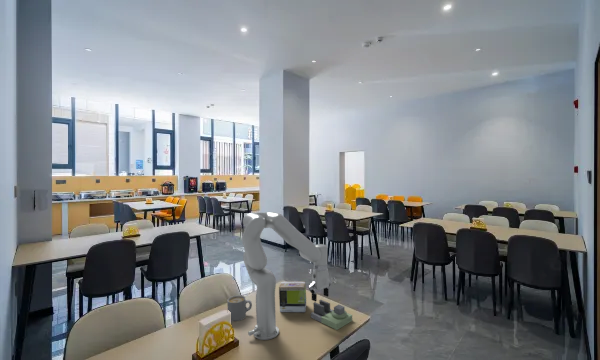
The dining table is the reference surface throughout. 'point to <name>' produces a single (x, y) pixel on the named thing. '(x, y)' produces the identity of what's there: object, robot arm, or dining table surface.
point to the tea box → (292, 296)
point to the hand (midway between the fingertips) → (320, 298)
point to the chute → (322, 308)
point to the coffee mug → (238, 307)
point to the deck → (335, 321)
